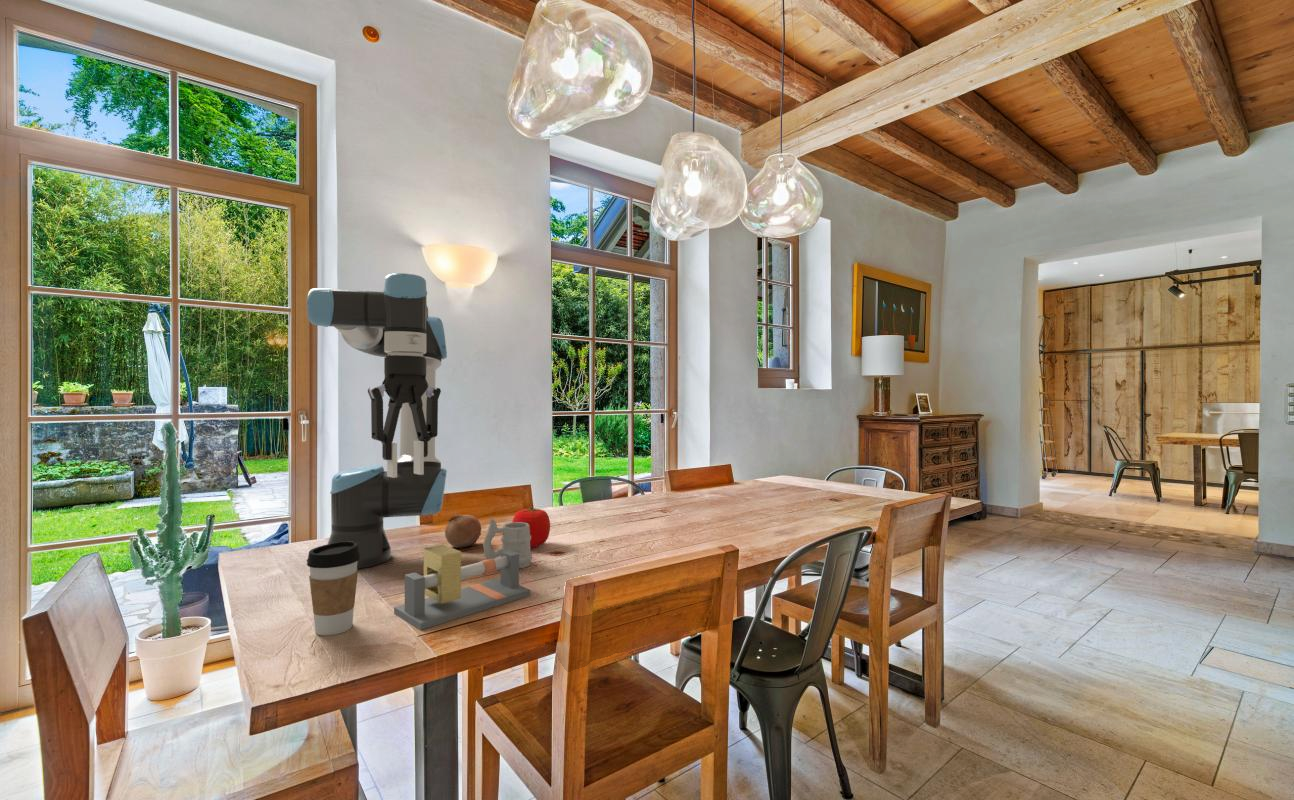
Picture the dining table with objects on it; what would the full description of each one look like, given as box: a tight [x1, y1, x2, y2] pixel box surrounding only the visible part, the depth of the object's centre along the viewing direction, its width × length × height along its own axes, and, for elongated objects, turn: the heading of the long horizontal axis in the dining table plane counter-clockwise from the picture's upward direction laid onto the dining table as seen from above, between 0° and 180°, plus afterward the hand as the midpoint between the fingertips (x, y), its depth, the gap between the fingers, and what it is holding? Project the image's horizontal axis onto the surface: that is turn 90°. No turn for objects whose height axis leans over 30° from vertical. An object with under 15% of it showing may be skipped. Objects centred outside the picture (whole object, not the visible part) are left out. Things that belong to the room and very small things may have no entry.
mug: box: [482, 518, 533, 569], centre depth 140 cm, size 8×12×12 cm, turn 114°
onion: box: [444, 514, 482, 549], centre depth 156 cm, size 10×9×10 cm
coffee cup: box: [306, 541, 360, 637], centre depth 103 cm, size 8×8×15 cm
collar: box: [423, 544, 462, 604], centre depth 111 cm, size 7×4×9 cm, turn 47°
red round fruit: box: [511, 507, 551, 549], centre depth 157 cm, size 10×11×11 cm
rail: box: [393, 550, 532, 631], centre depth 115 cm, size 11×24×8 cm, turn 137°
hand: (405, 475), depth 111 cm, fingers open, 4 cm apart
